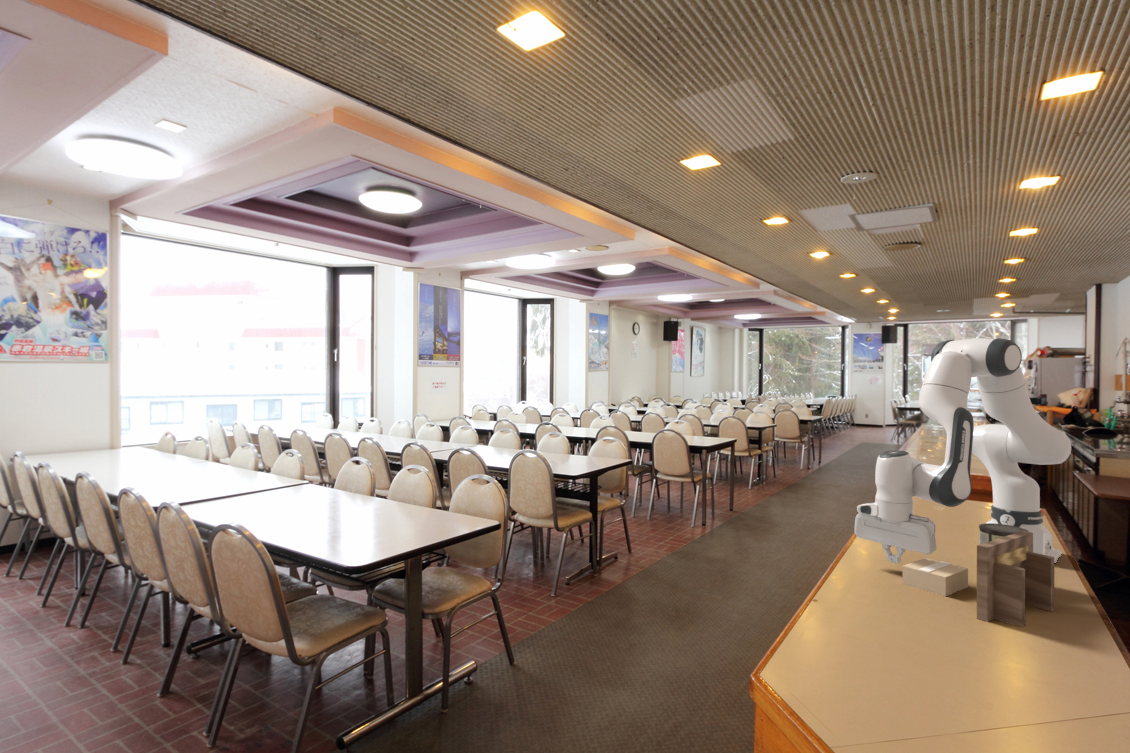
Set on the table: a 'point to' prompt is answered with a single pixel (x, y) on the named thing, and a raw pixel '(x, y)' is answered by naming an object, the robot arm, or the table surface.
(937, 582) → the carton
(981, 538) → the coffee can
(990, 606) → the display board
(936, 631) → the table surface
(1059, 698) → the table surface
